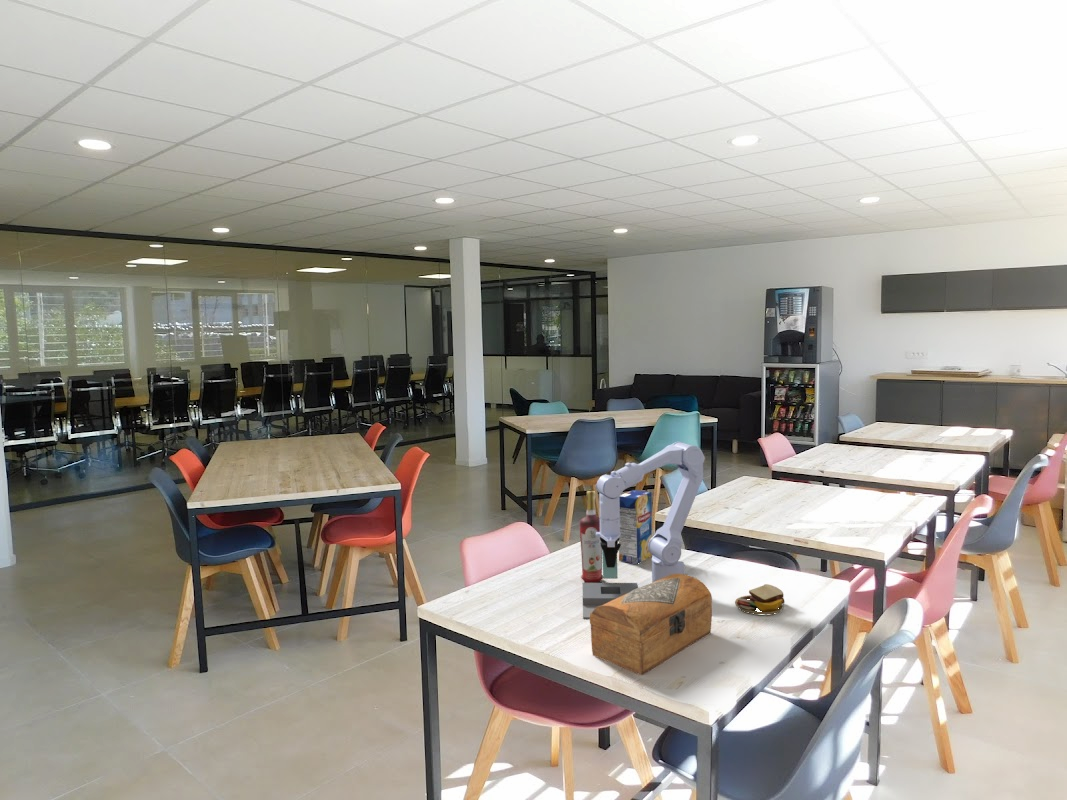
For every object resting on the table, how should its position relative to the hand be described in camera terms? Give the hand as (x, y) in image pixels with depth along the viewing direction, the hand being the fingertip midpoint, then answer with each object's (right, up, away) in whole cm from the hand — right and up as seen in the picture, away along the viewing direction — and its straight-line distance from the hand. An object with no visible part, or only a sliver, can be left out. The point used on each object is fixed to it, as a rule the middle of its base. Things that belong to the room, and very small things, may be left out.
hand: (610, 564), depth 196 cm
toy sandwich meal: (+40, -10, -7) cm, 42 cm away
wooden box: (+8, -13, -28) cm, 32 cm away
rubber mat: (-4, -11, -9) cm, 15 cm away
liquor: (-4, -9, +15) cm, 18 cm away
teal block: (0, -3, 0) cm, 3 cm away
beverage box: (+13, -7, +36) cm, 39 cm away
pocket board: (0, -10, +1) cm, 10 cm away
